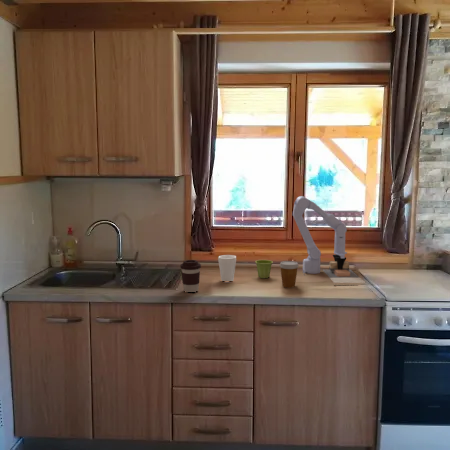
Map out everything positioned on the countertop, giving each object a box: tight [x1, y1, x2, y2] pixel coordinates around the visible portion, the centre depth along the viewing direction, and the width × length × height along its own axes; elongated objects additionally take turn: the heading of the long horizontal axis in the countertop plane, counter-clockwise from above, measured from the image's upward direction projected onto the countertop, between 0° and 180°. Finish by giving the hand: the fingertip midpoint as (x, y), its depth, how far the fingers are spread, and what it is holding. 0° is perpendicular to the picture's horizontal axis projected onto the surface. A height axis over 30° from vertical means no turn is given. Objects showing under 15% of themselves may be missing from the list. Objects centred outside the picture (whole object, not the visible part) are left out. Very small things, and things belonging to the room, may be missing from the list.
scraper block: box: [328, 260, 350, 271], centre depth 260 cm, size 10×4×4 cm, turn 91°
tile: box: [334, 270, 350, 276], centre depth 254 cm, size 7×7×2 cm
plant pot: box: [255, 259, 274, 279], centre depth 255 cm, size 9×9×9 cm
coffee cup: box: [179, 259, 202, 293], centre depth 229 cm, size 10×10×15 cm
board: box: [322, 268, 366, 287], centre depth 252 cm, size 16×28×2 cm, turn 0°
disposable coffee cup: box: [279, 260, 299, 289], centre depth 237 cm, size 10×10×12 cm
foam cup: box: [217, 254, 237, 282], centre depth 248 cm, size 10×9×13 cm
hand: (339, 268), depth 260 cm, fingers closed on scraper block, 4 cm apart
